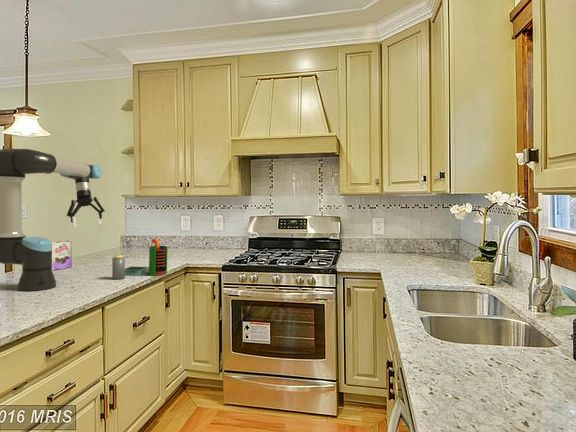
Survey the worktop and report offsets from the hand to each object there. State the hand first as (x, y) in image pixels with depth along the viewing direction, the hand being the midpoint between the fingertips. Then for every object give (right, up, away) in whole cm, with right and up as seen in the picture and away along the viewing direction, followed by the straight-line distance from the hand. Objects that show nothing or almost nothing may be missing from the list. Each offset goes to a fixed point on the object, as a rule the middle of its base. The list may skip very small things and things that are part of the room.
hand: (87, 226), depth 224 cm
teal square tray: (+31, -27, -8) cm, 42 cm away
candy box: (-18, -26, +2) cm, 32 cm away
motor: (+44, -27, -8) cm, 52 cm away
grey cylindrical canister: (+28, -27, -21) cm, 44 cm away
